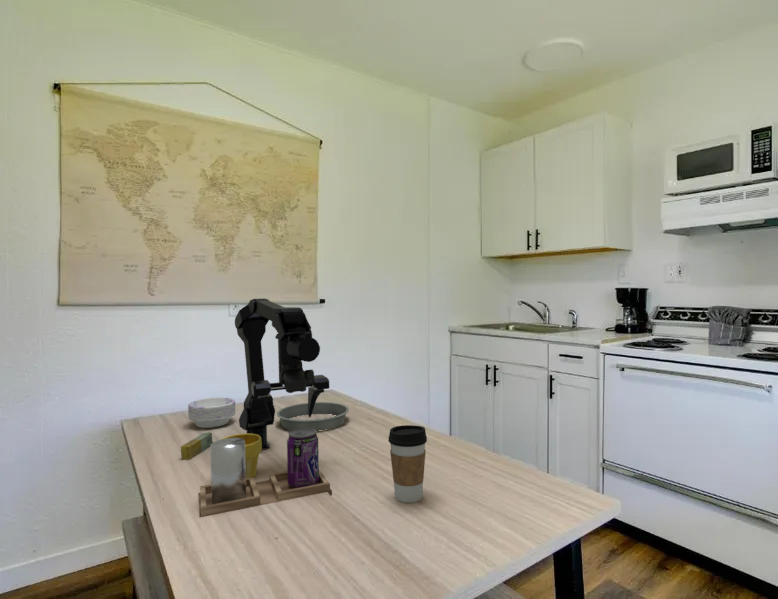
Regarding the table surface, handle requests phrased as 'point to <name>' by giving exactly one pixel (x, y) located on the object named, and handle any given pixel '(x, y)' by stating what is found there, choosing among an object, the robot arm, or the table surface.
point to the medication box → (196, 446)
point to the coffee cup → (408, 461)
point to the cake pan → (318, 409)
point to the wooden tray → (261, 494)
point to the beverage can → (302, 457)
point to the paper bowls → (211, 411)
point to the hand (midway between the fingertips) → (291, 419)
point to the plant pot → (250, 451)
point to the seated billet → (228, 470)
